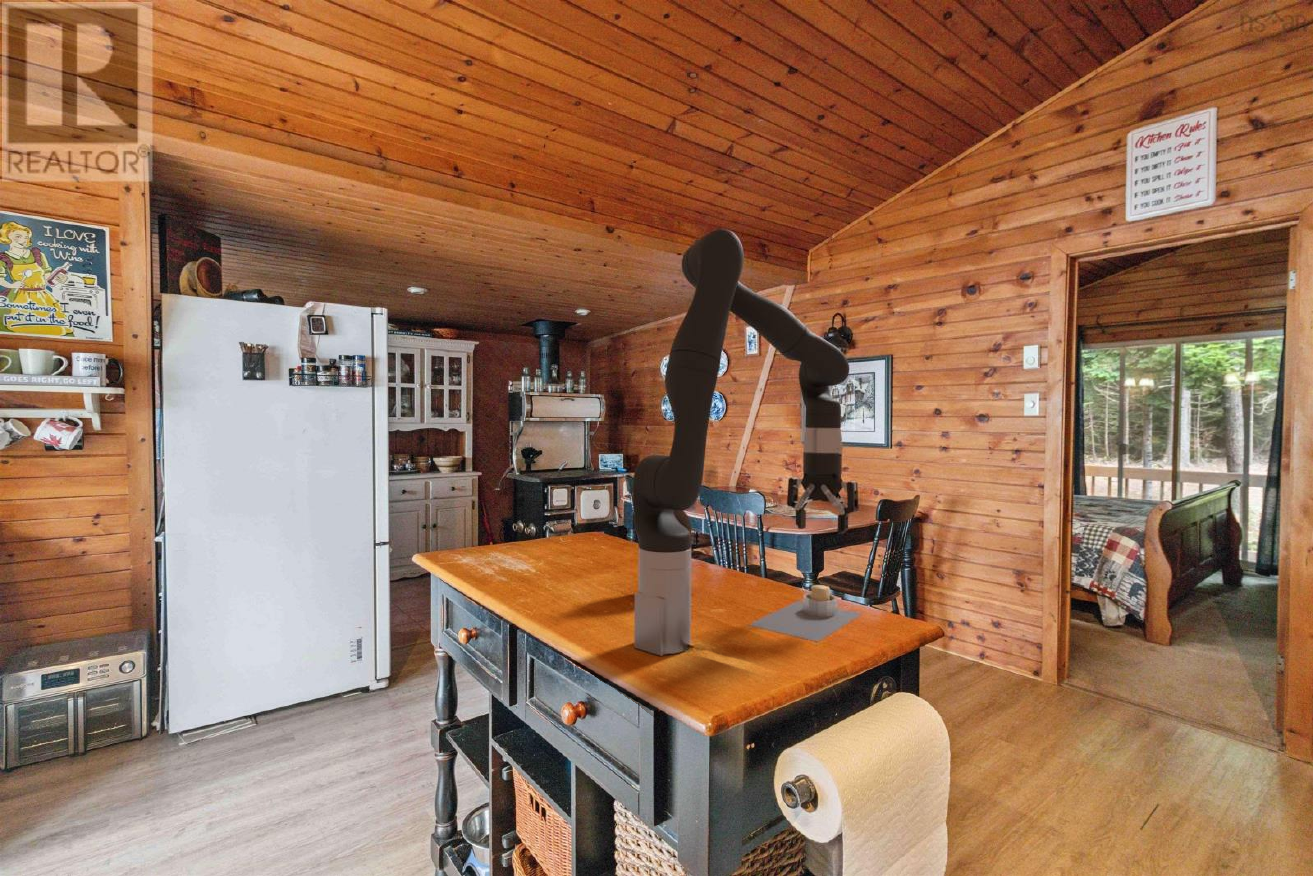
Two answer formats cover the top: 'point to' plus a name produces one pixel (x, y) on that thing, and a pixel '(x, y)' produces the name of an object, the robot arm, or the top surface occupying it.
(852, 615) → the fitting plate
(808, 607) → the steel ring
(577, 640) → the top surface
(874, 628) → the top surface
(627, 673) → the top surface
